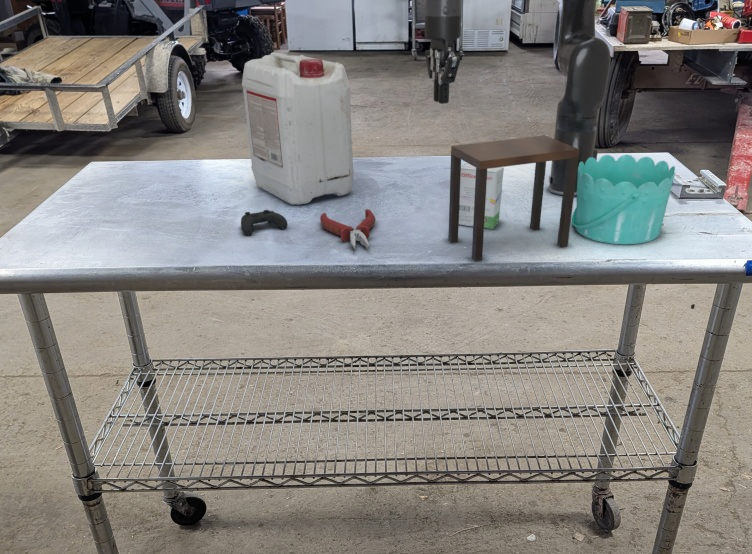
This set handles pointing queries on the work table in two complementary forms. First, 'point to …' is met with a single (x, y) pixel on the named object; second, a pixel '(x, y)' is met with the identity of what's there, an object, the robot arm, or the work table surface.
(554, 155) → the small table
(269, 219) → the gaming controller
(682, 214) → the work table surface
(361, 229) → the pliers
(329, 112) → the jerry can
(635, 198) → the basket
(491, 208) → the ink box
